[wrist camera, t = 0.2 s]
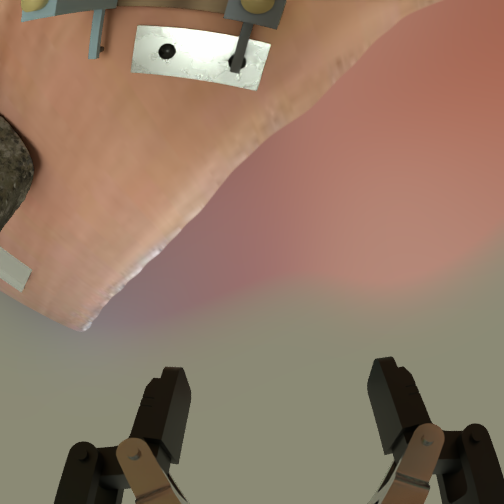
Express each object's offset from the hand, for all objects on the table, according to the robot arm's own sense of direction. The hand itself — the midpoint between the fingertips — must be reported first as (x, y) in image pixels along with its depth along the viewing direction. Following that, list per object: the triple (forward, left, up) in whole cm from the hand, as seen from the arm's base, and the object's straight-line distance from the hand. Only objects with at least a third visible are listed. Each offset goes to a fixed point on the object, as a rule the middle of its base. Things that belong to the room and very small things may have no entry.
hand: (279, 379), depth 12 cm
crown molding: (-31, -61, -32) cm, 75 cm away
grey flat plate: (-10, +1, -31) cm, 33 cm away
